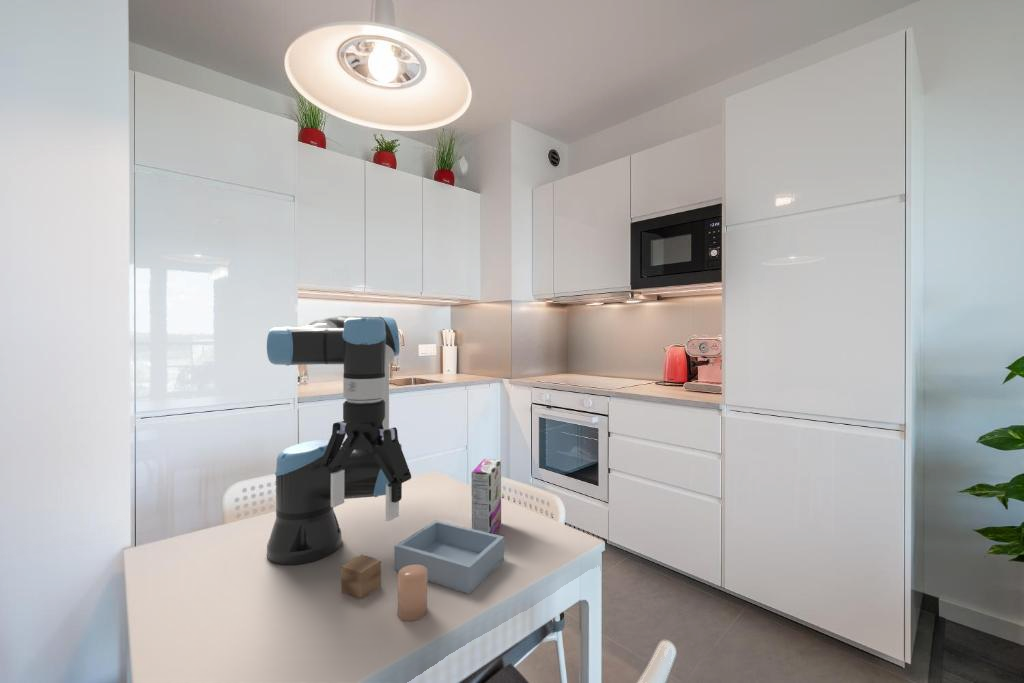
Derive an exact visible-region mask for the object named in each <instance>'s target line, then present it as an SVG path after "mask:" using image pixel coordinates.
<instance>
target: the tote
mask: <svg viewBox="0 0 1024 683" xmlns="http://www.w3.org/2000/svg"><path fill="white" fill-rule="evenodd" d="M393 555H394V560H393V561H394V565H393V566H394V571H397V572H399V570H400V569H402V568H403V567H405V566H409V565H422V566H424V567H426V568H427V571H428V574H427V582H431V583H434V584H437V585H440V586H444V587H446V588H450V589H452V590H456V591H459V592H462V593H466V594H468V595H470V594H471V593H472V592H473V591H474V590H475V589H476V588H477V587H478V586H479V585H480V584H481V583H482V582H483V581H484V580H486V578H487V577H488V576H489V575H491V573H492V572H493V571H494V570H495V569H496V568H497V567H498V566H499V565H501V563H503V561H505V536H502V535H499V534H496V533H495V534H491V533H487V532H483V531H479V530H474V529H472V528H469V527H465V526H461V525H457V524H453V523H449V522H445V521H440V520H437V519H435V520H434V521H432V522H430V523H429V524H426V525H425V526H424V527H422V528H421V529H419V530H417V531H415V532H414V533H413V534H411V535H409V536H408V537H407V538H405V539H403V540H402V541H400V542H398V543H397V544H395V545H394V554H393Z"/></svg>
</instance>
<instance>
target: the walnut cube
mask: <svg viewBox="0 0 1024 683" xmlns="http://www.w3.org/2000/svg"><path fill="white" fill-rule="evenodd" d="M340 568H341V574H340V575H341V576H340V577H341V578H340V579H341V580H340V582H341V586H340V587H341V588H340V589H341V591H340V593H342V594H345V595H348V596H350V597H353V598H354V599H355V598H356V599H357V600H363V599H365V598H366V597H367V596H369V595H370V594H372V593H373V592H374V591H376V590H377V589H379V587H382V585H381V584H382V561H381V560H380V559H378V558H374V557H371V556H368V555H365V554H362V553H361V554H360V555H358V556H356V557H355V558H353V559H351V560H349V561H347V562H346V563H345V564H343V565H341V567H340Z"/></svg>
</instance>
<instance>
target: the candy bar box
mask: <svg viewBox="0 0 1024 683" xmlns="http://www.w3.org/2000/svg"><path fill="white" fill-rule="evenodd" d="M501 523H502V460H501V459H493V458H492V459H491V458H484V459H482V461H480V463H479V464H478V465H477V466H476V467H475V468H474V469H473V471H471V529H474V530H479V531H483V532H487V533H491V534H495V535H496V533H497V531H498V529H499V528H500V526H501Z"/></svg>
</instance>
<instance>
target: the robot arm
mask: <svg viewBox="0 0 1024 683" xmlns="http://www.w3.org/2000/svg"><path fill="white" fill-rule="evenodd" d="M266 355H267V358H268V361H269V362H270V363H271V364H272V365H279V366H281V365H282V366H283V365H284V366H297V365H298V366H306V365H343V377H342V378H343V379H342V381H343V382H342V383H343V385H342V387H343V390H342V391H343V394H342V396H343V397H342V398H343V399H344V400H345V401H344V402H343V403H342V421H337V422H334V423H333V424H332V431H331V435H330V438H329V439H316V440H315V439H314V440H310V441H305V442H301V443H297V444H294V445H291V446H288V447H286V448H285V449H283V450H281V452H279V453H278V455H277V457H276V464H275V465H276V466H275V468H276V469H275V472H274V475H275V494H276V495H275V511H276V512H275V521H274V523H273V527H272V530H271V533H270V536H269V538H268V541H267V543H266V557H267V559H268V560H269V561H270V562H272V563H275V564H279V565H300V564H306V563H310V562H314V561H317V560H320V559H323V558H325V557H328V556H330V555H331V554H333V553H334V552H335V551H337V550H338V549H339V548H340V547H341V544H342V530H341V528H340V525H339V521H338V519H337V515H336V513H335V510H334V508H336V507H338V506H340V505H342V504H345V500H351V499H361V498H363V499H364V498H378V497H379V496H380V497H381V496H385V521H386V522H391V521H393V520H394V519H396V518H398V517H400V515H399V514H400V504H399V503H400V501H401V500H402V498H403V497H402V493H403V492H402V491H403V488H402V485H403V483H405V482H408V481H410V480H411V479H412V474H411V471H410V468H409V466H408V463H407V461H406V458H405V455H404V453H403V452H404V451H403V449H402V446H403V445H402V444H401V443H400V441H399V436H398V429H397V427H391V428H390V365H391V363H393V361H395V360H394V359H395V357H397V356H399V355H400V338H399V328H398V325H397V321H396V320H395V319H394V318H392V317H386V316H381V315H380V316H347V315H345V316H344V315H338V316H332V317H326V318H325V317H324V318H322V319H317V320H314V321H312V322H310V323H309V324H308V325H305V326H300V327H298V326H297V327H293V326H292V327H291V326H283V327H281V326H279V327H272V328H271V329H270V330H269V331H268V334H267V337H266ZM345 437H346V438H345Z"/></svg>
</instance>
